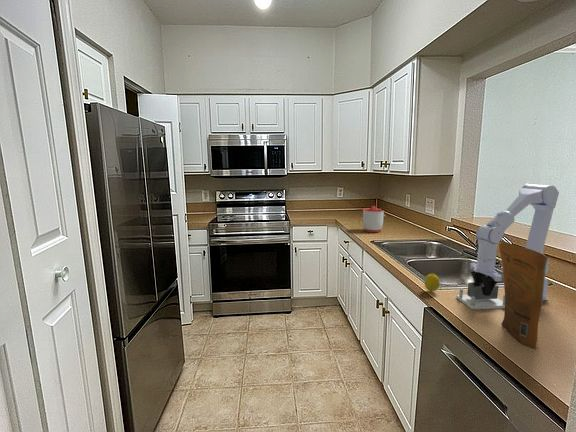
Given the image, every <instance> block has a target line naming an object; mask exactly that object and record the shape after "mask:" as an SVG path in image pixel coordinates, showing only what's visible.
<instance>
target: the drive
mask: <svg viewBox="0 0 576 432" xmlns="http://www.w3.org/2000/svg"><path fill="white" fill-rule="evenodd" d="M483 288H484V287H483V282H474V281H473V282H472V281H471V282H468V283H467V292H466V293H467V294H466V295H468V296H469V297H472V296H474V297H475V299H497V298H498V296H499V295H498V294H499V284H498V285H497V284H496V285H495V287H494V288H493V290H492V293H491V295H490V296H485V295H484V293H483Z"/></svg>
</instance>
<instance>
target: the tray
mask: <svg viewBox="0 0 576 432" xmlns="http://www.w3.org/2000/svg"><path fill="white" fill-rule="evenodd" d="M456 299H458V300H459V301H460V302H462V303H463V304H464V305H466V306H467V307H469V308H470V309H472V310H485V309H487V310H489V309H493V310H494V309H505V294H504V295H503V297H502V299H500V298H498V297H497V299H475V297H474V296H472V297H469V296H468V295H467V294H464V288H459V294H456Z"/></svg>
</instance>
